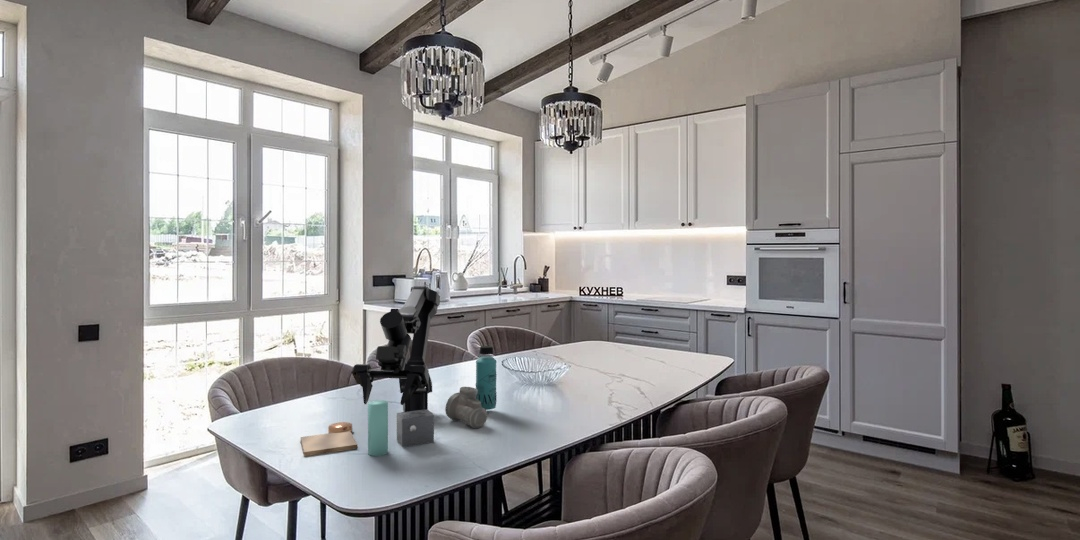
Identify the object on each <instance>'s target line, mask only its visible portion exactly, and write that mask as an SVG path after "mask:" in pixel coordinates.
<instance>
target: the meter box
mask: <svg viewBox="0 0 1080 540" xmlns="http://www.w3.org/2000/svg"><path fill="white" fill-rule="evenodd" d="M396 441H397V443H398V444H399V445H400V446H401V447H402V448H406V447H413V446H420V445H425V444H426V445H427V444H433V443H435V415H434V414H433V412H431V411H430V410H429V409H425V410H417V411H409V412H404V411H402V412H396Z"/></svg>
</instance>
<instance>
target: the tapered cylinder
mask: <svg viewBox="0 0 1080 540" xmlns="http://www.w3.org/2000/svg"><path fill="white" fill-rule="evenodd" d="M388 452H389V402H388V401H387V400H381V399H379V400H378V399H376V400H373V401H368V402H367V454H368V456H370V457H371V456H372V457H380V456H384V455H386V454H388Z"/></svg>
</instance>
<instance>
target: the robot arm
mask: <svg viewBox="0 0 1080 540" xmlns="http://www.w3.org/2000/svg"><path fill="white" fill-rule="evenodd" d="M440 304H441V296H440V294H439V293H438V291H435V290H433V289H431V288H429V286H425V285H415V286H414V285H413V286H411V288H410V293H409V295H408V297H407V299H406V301H405V302H404V305H403V306H402V307H401V308H391V309H390V311H388V312H386V313H384V314H383V315H382V316H381V317H380V319H379V323H380V326H381V329H382V331H383V334H384V335H383V336H384V337H385V339H386V340H387V341H388V342H387V346H384V345H380V346H379V345H378V346H377V347H376V354H375V360H376V361H378V363H377V365H378V368H379V367H380V369H375V368H374V369H372V366H371V365H370V364H371V363H369V364H367V363H356V364H354V366H353V367H352V370H351V374H352V376H353V378H354V380H355V383H356V384H358V385H360V387H362V388H361V389H362V396H363V397H362V399H363V403H364V405H368V403H369V399H370V396H371V392H372V390H373V382H374V380H375V379H374V378H377V379H378V378H380V379H384V378H385V379H398V384H399V385H398V386H399V392H400V394H401V398H400V405H401V406H402V412H409V411H417V410H425V409H428V408H429V407H428V405H429V403H428V402H429V397H428V396H429V395H428V394H429V393H432V392H433V382H432V378H431V375H430V372H429V368H428V366H427V364H426V354H427V348H428V340H429V333H430V326H431V320H432V319H433V317H434V316H435V315H436V314H437V313H438V307H440ZM411 335H412V337H411ZM409 350H410V354H409ZM408 355H409V358H408ZM428 410H429V409H428Z"/></svg>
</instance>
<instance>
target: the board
mask: <svg viewBox="0 0 1080 540" xmlns="http://www.w3.org/2000/svg"><path fill="white" fill-rule="evenodd" d="M300 444H301V448H302V453H303V456H304V457H310V456H314V455H315V456H316V455H322V454H329V453H335V452H336V453H337V452H344V451H349V450H355V449H358V443H357V441H356V439H355V438H354V435H353V432H352V433H351V432H350V431H343V432H336V433H328V432H327V433H322V434H321V433H320V434H314V435H306V436H300Z"/></svg>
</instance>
